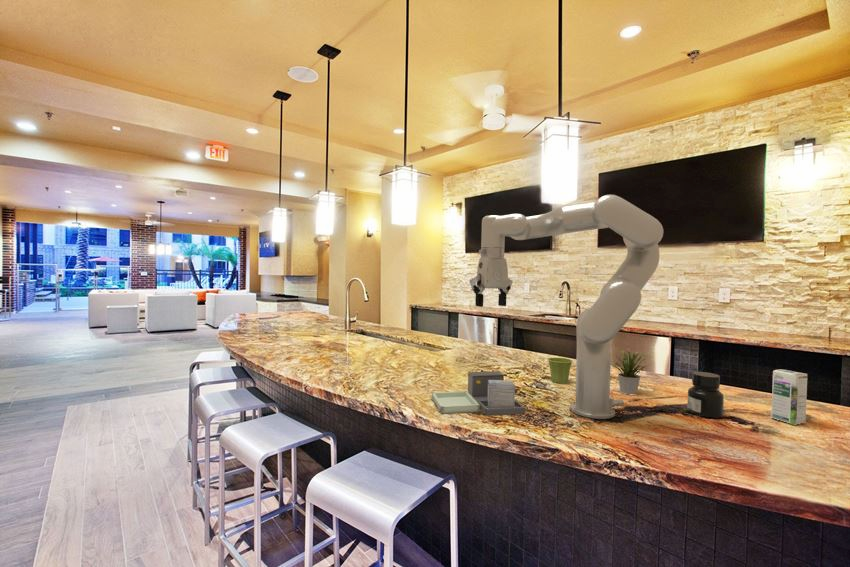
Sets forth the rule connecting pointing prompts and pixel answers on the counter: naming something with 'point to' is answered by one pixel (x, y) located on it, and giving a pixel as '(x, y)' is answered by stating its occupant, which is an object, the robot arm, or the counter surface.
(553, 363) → the plant pot
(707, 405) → the ink bottle
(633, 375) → the house plant
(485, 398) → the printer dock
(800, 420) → the syrup box
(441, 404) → the tray
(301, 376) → the counter surface
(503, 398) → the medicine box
